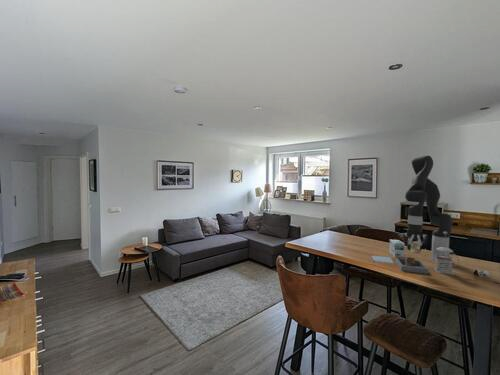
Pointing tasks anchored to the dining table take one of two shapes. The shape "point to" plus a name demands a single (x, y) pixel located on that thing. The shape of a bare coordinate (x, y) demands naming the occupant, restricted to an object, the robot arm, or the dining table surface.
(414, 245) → the beige box with label
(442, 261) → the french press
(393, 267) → the dining table surface
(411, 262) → the walnut block
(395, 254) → the light bulb box
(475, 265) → the dining table surface
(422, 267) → the parts bin
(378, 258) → the placing board
